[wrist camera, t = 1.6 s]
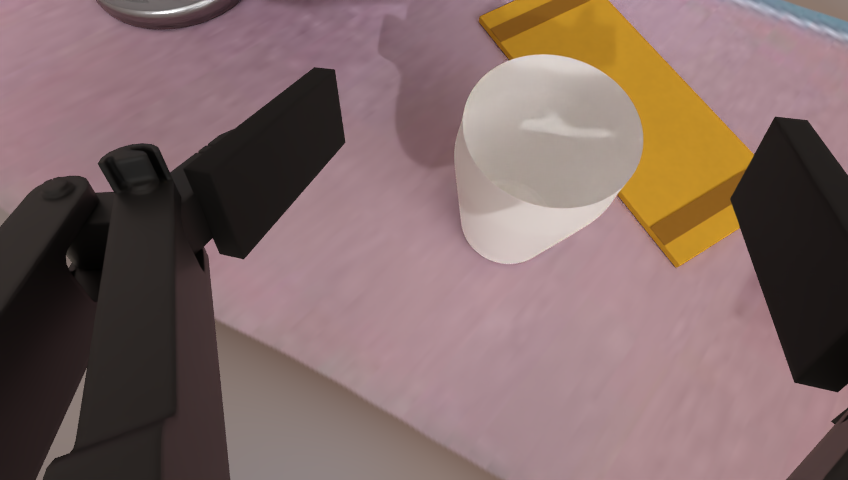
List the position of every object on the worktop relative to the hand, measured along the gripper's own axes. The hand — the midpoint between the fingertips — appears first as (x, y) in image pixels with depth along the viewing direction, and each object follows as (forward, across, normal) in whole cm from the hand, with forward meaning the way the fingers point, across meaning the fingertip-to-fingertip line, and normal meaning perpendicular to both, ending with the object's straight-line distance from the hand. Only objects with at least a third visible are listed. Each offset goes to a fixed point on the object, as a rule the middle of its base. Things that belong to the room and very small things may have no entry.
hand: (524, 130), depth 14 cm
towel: (+24, +6, -9) cm, 27 cm away
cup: (+13, -1, -14) cm, 19 cm away
